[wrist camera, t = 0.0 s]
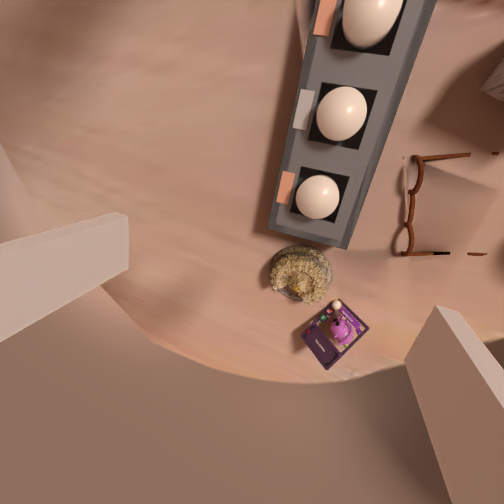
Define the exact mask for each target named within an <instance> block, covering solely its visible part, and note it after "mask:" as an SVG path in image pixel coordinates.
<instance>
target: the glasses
mask: <svg viewBox="0 0 504 504" xmlns="http://www.w3.org/2000/svg"><path fill="white" fill-rule="evenodd" d="M499 153H500V152H492V155H498V154H499ZM470 155H471V153H461V154H448V155H435V156H423V157H420V156H418V155H413V157H412V160H414V161H416V163H417V166H418V178H417V182H416V185H415V187H414V188H413V189H412V190H408V194H410V206H409V214H408V220H407V222H405V224H404V226H405V227H406V228H407V229H408V232H409V246H408V249H407V251H406V252H404V251H401V255H402V256H425V255H450V252H425V251H423V252H412V251H413V247H414V231H413V227H412V225H411V223H412V220H413V216H414V208H415V194H417V192H418V191H419V189H420V187H421V184H422V181H423V175H424V165H423V161H422V160H428V159H440V158H452V157H465V156H470ZM467 254H468V255H472V256H483V255H486V254H485V253H467Z"/></svg>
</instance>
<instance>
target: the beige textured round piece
mask: <svg viewBox="0 0 504 504" xmlns="http://www.w3.org/2000/svg"><path fill="white" fill-rule="evenodd" d="M332 277H333V274H332V268H331V265H330V263H329V261H328V260H327V258H326V257H325V256H324V255H323V254H322V253H321V252H319V251H317V250H316V249H313V248H312V247H307V246H301V245H298V246H294V245H293V246H291V247H287V248H285V249H283V250H281V251H280V252H278V253H277V254H276V256H274V258H273V259H272V262H271V264H270V277H269V280H270V283H271V286H272V288H273V289H272V290H278V291H280V292H281V293H282V294H284V295H285V296H286V297H289V298H291V299H295V300H300V301H304V302H305V304H306V305H307V306H308V305H313V304H314V303H318V302H319V301H320V300H321V299H322V298H324V296H325V294H326V292H327V290H328V289H329V286H330V285H331V282H332ZM286 285H289V287H291V289H292V290H294V291H296V292H298V293H299V295H296V294H293V293H291V292H290V291H288V290H287V289H286V288H285V287H284V286H286Z"/></svg>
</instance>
